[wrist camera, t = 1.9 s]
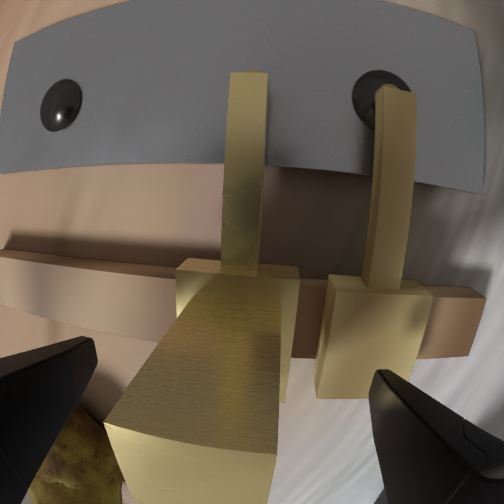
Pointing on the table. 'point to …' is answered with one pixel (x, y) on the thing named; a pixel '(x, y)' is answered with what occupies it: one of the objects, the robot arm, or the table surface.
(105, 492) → the potato
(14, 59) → the hole plate
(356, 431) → the table surface
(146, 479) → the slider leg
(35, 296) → the rail
